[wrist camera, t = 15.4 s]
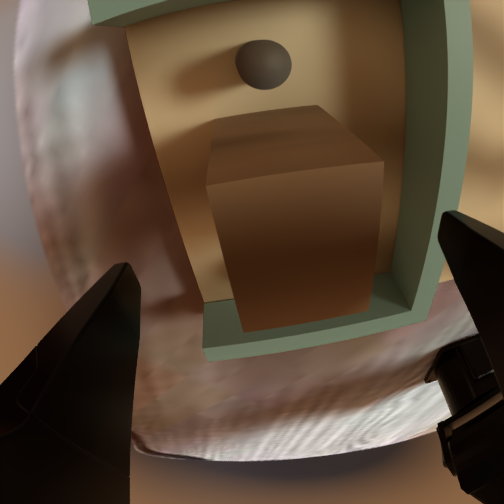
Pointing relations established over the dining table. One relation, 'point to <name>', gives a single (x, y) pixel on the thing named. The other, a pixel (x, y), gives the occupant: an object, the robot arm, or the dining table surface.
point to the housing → (413, 185)
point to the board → (303, 100)
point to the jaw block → (294, 215)
